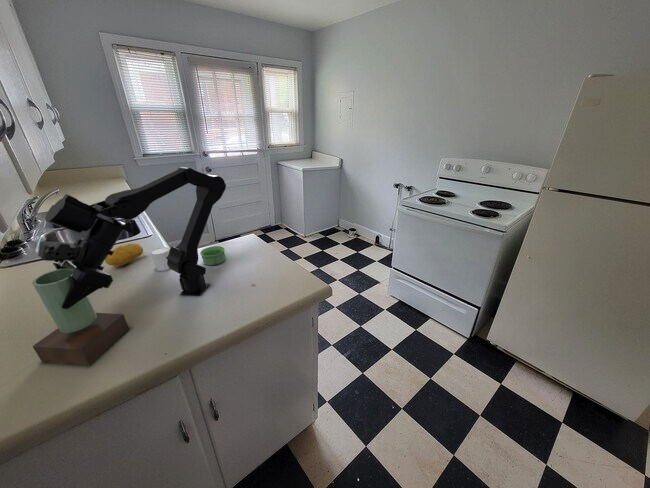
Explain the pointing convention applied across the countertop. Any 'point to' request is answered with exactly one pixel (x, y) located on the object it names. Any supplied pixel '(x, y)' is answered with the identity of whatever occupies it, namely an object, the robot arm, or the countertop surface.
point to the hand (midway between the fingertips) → (59, 302)
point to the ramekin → (213, 255)
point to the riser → (82, 341)
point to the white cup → (160, 258)
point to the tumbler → (53, 295)
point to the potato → (124, 254)
